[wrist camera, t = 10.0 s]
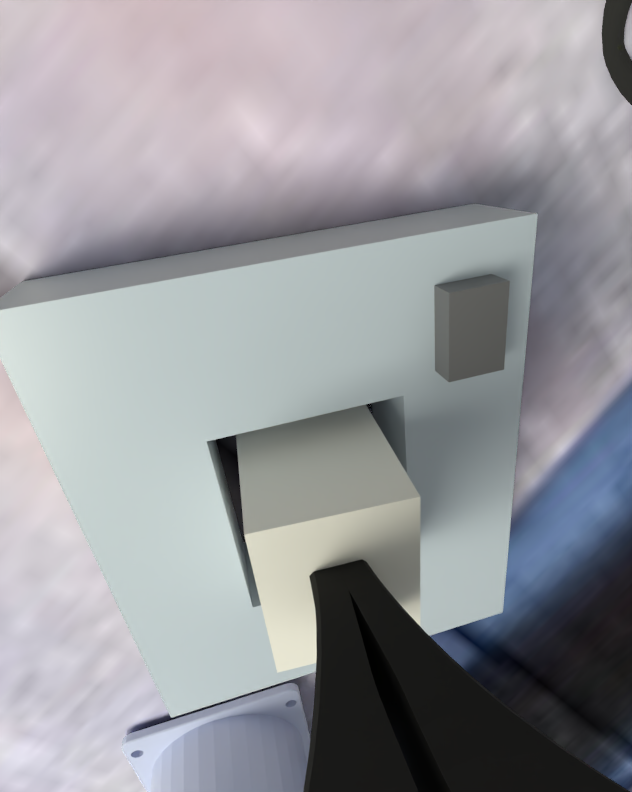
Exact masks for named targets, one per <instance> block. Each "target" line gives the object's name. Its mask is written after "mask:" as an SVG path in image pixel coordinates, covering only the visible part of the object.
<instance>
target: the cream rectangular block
mask: <svg viewBox="0 0 632 792" xmlns="http://www.w3.org/2000/svg"><path fill="white" fill-rule="evenodd" d="M236 442H237V454H238V466H239V478H240V490H241V502H242V514H243V526H244V536H245V540H246V544H247V548H248V553H249V557H250V561H251V565H252V569H253V574H254V578H255V582H256V586H257V590H258V594H259V599H260V603H261V607H262V611H263V615H264V619H265V624H266V628H267V632H268V636H269V640H270V644H271V649H272V653H273V657H274V661H275V665H276V670H277V673H278V672H282V671H286V670H290V669H294V668H298V667H302V666H306V665H310V664H314V663H316V659H317V644H316V612H315V605H314V599H313V594H312V588H311V583H310V577H309V576H310V575H311V574H312V573H313V572H314V571H318V570H322V569H326V568H330V567H334V566H338V565H342V564H346V563H349V562H353V561H357V560H361V559H362V560H364V561H366V562H367V563H368V565H369V566H370V567H371V569H372V570H373V572H374V573H375V574H376V576H377V577H378V578H379V580H380V581H381V582H382V583H383V585H384V586H385V587H386V588H387V590H388V591H389V592H390V593H391V594H392V596H393V597H394V598H395V599H396V600H397V602H398V603H399V604H400V605H401V606H402V607H403V608H404V609H405V611H406V612H407V613H408V614H409V615H410V616H411V617H412V618H413V619H414V620H415V621H416V622H417V624H418V625H419V626H420V495H419V493H418V492H417V490H416V488H415V487H414V485H413V483H412V482H411V480H410V478H409V477H408V475H407V473H406V471H405V470H404V468H403V466H402V465H401V463H400V461H399V460H398V458H397V456H396V455H395V453H394V451H393V450H392V448H391V446H390V445H389V443H388V441H387V440H386V438H385V436H384V434H383V433H382V431H381V429H380V428H379V426H378V424H377V423H376V421H375V419H374V418H373V416H372V414H371V413H370V411H369V409H368V408H367V406H366V404H365V405H361V406H357V407H353V408H348V409H344V410H340V411H335V412H331V413H327V414H323V415H318V416H314V417H310V418H305V419H301V420H297V421H293V422H288V423H284V424H280V425H275V426H271V427H267V428H263V429H258V430H254V431H250V432H246V433H241V434H237V435H236Z"/></svg>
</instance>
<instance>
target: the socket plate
mask: <svg viewBox="0 0 632 792" xmlns="http://www.w3.org/2000/svg"><path fill="white" fill-rule="evenodd" d="M537 218H538V213H532V212H526V211H519V210H513V209H507V208H500V207H494V206H488V205H481V204H475V203H474V204H469V205H463V206H457V207H451V208H445V209H440V210H434V211H428V212H422V213H416V214H411V215H405V216H399V217H393V218H387V219H382V220H376V221H370V222H364V223H358V224H352V225H347V226H341V227H335V228H329V229H323V230H318V231H312V232H306V233H300V234H294V235H289V236H283V237H277V238H271V239H265V240H260V241H254V242H248V243H242V244H236V245H231V246H225V247H219V248H213V249H207V250H202V251H196V252H190V253H184V254H178V255H173V256H167V257H161V258H155V259H149V260H144V261H138V262H132V263H126V264H120V265H115V266H109V267H103V268H97V269H91V270H86V271H80V272H74V273H68V274H62V275H56V276H51V277H45V278H39V279H33V280H27V281H22V282H21V283H19V284H18V285H17V286H15V287H14V288H13V289H11V290H10V291H9V292H7V293H6V294H5V295H3V296H2V297H1V298H0V359H1V361H2V363H3V366H4V368H5V370H6V372H7V374H8V376H9V378H10V380H11V382H12V384H13V387H14V389H15V391H16V393H17V395H18V397H19V399H20V401H21V403H22V405H23V408H24V410H25V412H26V414H27V416H28V418H29V420H30V422H31V424H32V426H33V429H34V431H35V433H36V435H37V437H38V439H39V441H40V443H41V445H42V447H43V450H44V452H45V454H46V456H47V458H48V460H49V462H50V464H51V466H52V469H53V471H54V473H55V475H56V477H57V479H58V481H59V483H60V485H61V487H62V490H63V492H64V494H65V496H66V498H67V500H68V502H69V504H70V506H71V508H72V511H73V513H74V515H75V517H76V519H77V521H78V523H79V525H80V527H81V529H82V532H83V534H84V536H85V538H86V540H87V542H88V544H89V546H90V548H91V551H92V553H93V555H94V557H95V559H96V561H97V563H98V565H99V567H100V569H101V572H102V574H103V576H104V578H105V580H106V582H107V584H108V586H109V588H110V590H111V593H112V595H113V597H114V599H115V601H116V603H117V605H118V607H119V609H120V611H121V614H122V616H123V618H124V620H125V622H126V624H127V626H128V628H129V630H130V633H131V635H132V637H133V639H134V641H135V643H136V645H137V647H138V649H139V651H140V654H141V656H142V658H143V660H144V662H145V664H146V666H147V668H148V670H149V672H150V675H151V677H152V679H153V681H154V683H155V685H156V687H157V689H158V691H159V693H160V696H161V698H162V700H163V702H164V704H165V706H166V708H167V710H168V712H169V715H170V717H171V718H172V717H175V716H179V715H182V714H185V713H188V712H191V711H194V710H197V709H201V708H204V707H207V706H210V705H213V704H216V703H219V702H223V701H226V700H229V699H232V698H235V697H238V696H241V695H245V694H248V693H251V692H254V691H257V690H260V689H264V688H267V687H270V686H273V685H276V684H279V683H282V682H286V681H289V680H292V679H295V678H298V677H301V676H304V675H308V674H311V673H314V672H316V663H314V664H310V665H306V666H302V667H298V668H294V669H290V670H286V671H282V672H278V673H277V670H276V665H275V661H274V657H273V653H272V649H271V644H270V640H269V636H268V632H267V628H266V624H265V619H264V615H263V611H262V607H261V603H260V599H259V594H258V590H257V586H256V582H255V578H254V574H253V569H252V565H251V561H250V557H249V553H248V548H247V544H246V542H245V543H243V540H242V536H241V533H240V529H239V525H238V521H237V518H236V514H235V510H234V506H233V503H232V499H231V495H230V491H229V488H228V484H227V480H226V477H225V473H224V469H223V465H222V462H221V458H220V454H219V450H218V447H217V443H216V439H220V438H224V437H228V436H233V435H237V434H241V433H246V432H250V431H254V430H258V429H263V428H267V427H271V426H275V425H280V424H284V423H288V422H293V421H297V420H301V419H305V418H310V417H314V416H318V415H323V414H327V413H331V412H335V411H340V410H344V409H348V408H353V407H357V406H361V405H365V404H370V403H372V412H373V418H374V419H375V421H376V423H377V424H378V426H379V428H380V429H381V431H382V433H383V434H384V436H385V438H386V440H387V441H388V443H389V445H390V446H391V448H392V450H393V451H394V453H395V455H396V456H397V458H398V460H399V461H400V463H401V465H402V466H403V468H404V470H405V471H406V473H407V475H408V477H409V478H410V480H411V482H412V483H413V485H414V487H415V488H416V490H417V492H418V493H419V495H420V627H421V628H422V629H423V630H424V631H425V632H426V633H427V634H428V635H429V636H430V635H433V634H436V633H440V632H443V631H446V630H449V629H452V628H455V627H458V626H462V625H465V624H468V623H471V622H474V621H477V620H480V619H484V618H487V617H490V616H493V615H496V614H499V613H502V612H503V603H504V592H505V580H506V569H507V558H508V546H509V535H510V524H511V512H512V501H513V490H514V478H515V467H516V456H517V444H518V433H519V422H520V410H521V399H522V388H523V377H524V365H525V354H526V343H527V331H528V320H529V309H530V297H531V286H532V275H533V263H534V252H535V241H536V229H537Z"/></svg>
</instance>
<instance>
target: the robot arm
mask: <svg viewBox="0 0 632 792" xmlns="http://www.w3.org/2000/svg"><path fill="white" fill-rule="evenodd" d="M309 577H310V583H311V588H312V594H313V599H314V605H315V612H316V644H317V659H316V680H315V698H314V710H313V721H312V731H311V738H310V734H309V729H308V725H307V721H306V717H305V713H304V709H303V704H302V700H301V696H300V692H299V688H298V686H297V685H296V684H294V683H286V684H283V685H280V686H277V687H274V688H271V689H268V690H264V691H261V692H258V693H255V694H252V695H249V696H246V697H242V698H239V699H236V700H233V701H230V702H227V703H224V704H221V705H217V706H214V707H211V708H208V709H205V710H202V711H199V712H195V713H192V714H189V715H186V716H183V717H180V718H177V719H173V720H170V721H167V722H164V723H161V724H158V725H155V726H152V727H148V728H145V729H142V730H139V731H136V732H133V733H130V734H128V735H127V736H125V737H124V739H123V741H122V751H123V753H124V754H125V756H126V758H127V760H128V761H129V763H130V765H131V766H132V768H133V770H134V771H135V773H136V775H137V776H138V778H139V780H140V781H141V783H142V785H143V786H144V788H145V790H146V791H147V792H630V791H628V790H626V789H625V788H623V787H622V786H620V785H619V784H617V783H615V782H614V781H612V780H611V779H609V778H608V777H606V776H604V775H603V774H601V773H600V772H598V771H597V770H595V769H594V768H592V767H591V766H589V765H588V764H586V763H585V762H583V761H582V760H580V759H579V758H578V757H576V756H575V755H573V754H572V753H570V752H569V751H567V750H566V749H564V748H563V747H561V746H560V745H559V744H557V743H556V742H555V741H553V740H552V739H551V738H549V737H548V736H547V735H545V734H544V733H542V732H541V731H540V730H538V729H537V728H536V727H534V726H533V725H532V724H530V723H529V722H527V721H526V720H525V719H523V718H522V717H521V716H519V715H518V714H517V713H515V712H514V711H513V710H512V709H510V708H509V707H508V706H507V705H505V704H504V703H503V702H502V701H501V700H499V699H498V698H497V697H496V696H494V695H493V694H492V693H491V692H489V691H488V690H487V689H486V688H485V687H484V686H482V685H481V684H480V683H479V682H478V681H477V680H475V679H474V678H473V677H472V676H471V675H470V674H469V673H468V672H466V671H465V670H464V669H463V668H462V667H461V666H460V665H459V664H458V663H457V662H455V661H454V660H453V659H452V658H451V657H450V656H449V655H448V654H447V653H446V652H445V651H444V650H443V649H442V648H441V647H440V646H439V645H438V644H437V643H436V642H435V641H434V640H433V639H432V638H431V637H430V636H429V635H428V634H427V633H426V632H425V631H424V630H423V629H422V628H421V627H420V626H419V625H418V624H417V622H416V621H415V620H414V619H413V618H412V617H411V616H410V615H409V614H408V613H407V612H406V611H405V609H404V608H403V607H402V606H401V605H400V604H399V603H398V602H397V600H396V599H395V598H394V597H393V596H392V594H391V593H390V592H389V591H388V590H387V588H386V587H385V586H384V585H383V583H382V582H381V581H380V580H379V578H378V577H377V576H376V574H375V573H374V572H373V570H372V569H371V567H370V566H369V565H368V563H367V562H366V561H364V560H362V559H361V560H357V561H353V562H349V563H346V564H342V565H338V566H334V567H330V568H326V569H322V570H318V571H314V572H313V573H312V574H311V575H310V576H309Z"/></svg>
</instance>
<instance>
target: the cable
mask: <svg viewBox="0 0 632 792" xmlns="http://www.w3.org/2000/svg"><path fill="white" fill-rule="evenodd" d="M631 3H632V0H606V4H605V8H604V16H603V25H602V43H603V55H604V59H605V62H606V66H607V68H608V71H609V73H610V75H611V78H612V80H613V81H614V83H615V85H616V86H617V88H618V89H619V91H620V92H621V94H622V95H623V96H624V97H625V98H626V100H627V101H628V102H629V103H630V104H631V105H632V60H631V59H630V57H629V55H628V53H627V51H626V49H625V46H624V27H625V23H626V19H627V15H628V11H629V8H630V5H631Z"/></svg>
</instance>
